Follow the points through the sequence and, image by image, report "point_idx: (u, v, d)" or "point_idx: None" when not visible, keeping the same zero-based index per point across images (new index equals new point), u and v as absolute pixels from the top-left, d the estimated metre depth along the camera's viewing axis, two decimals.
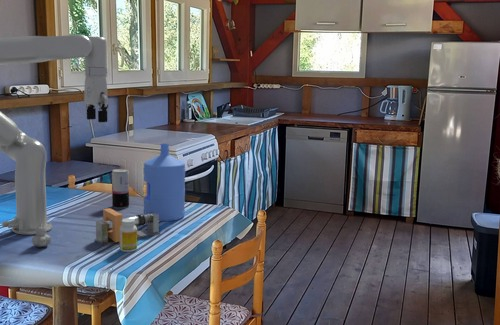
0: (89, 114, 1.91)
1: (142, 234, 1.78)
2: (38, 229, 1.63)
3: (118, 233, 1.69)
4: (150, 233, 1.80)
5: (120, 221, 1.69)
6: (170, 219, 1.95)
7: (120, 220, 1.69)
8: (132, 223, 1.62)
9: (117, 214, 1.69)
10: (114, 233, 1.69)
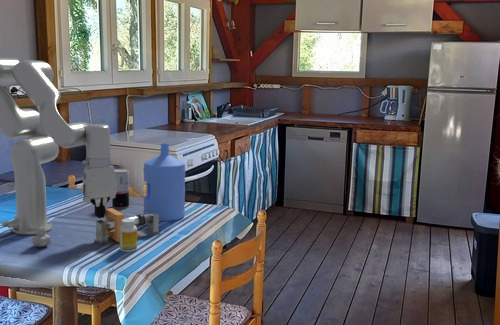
0: None
1: (142, 234, 1.78)
2: (38, 229, 1.63)
3: None
4: (150, 233, 1.80)
5: None
6: (170, 219, 1.95)
7: None
8: (132, 223, 1.62)
9: (119, 214, 1.69)
10: (116, 233, 1.69)
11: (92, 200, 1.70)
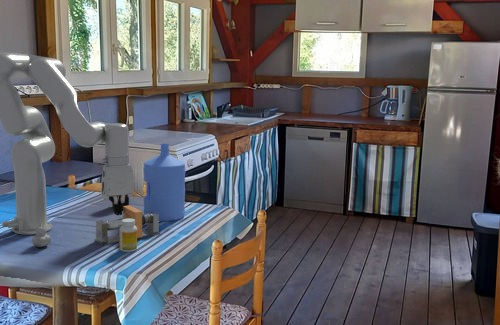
0: None
1: (142, 234, 1.78)
2: (38, 229, 1.63)
3: (138, 229, 1.73)
4: (150, 233, 1.80)
5: (140, 218, 1.73)
6: (170, 219, 1.95)
7: (140, 217, 1.73)
8: (132, 223, 1.62)
9: (137, 211, 1.73)
10: None
11: (111, 197, 1.74)
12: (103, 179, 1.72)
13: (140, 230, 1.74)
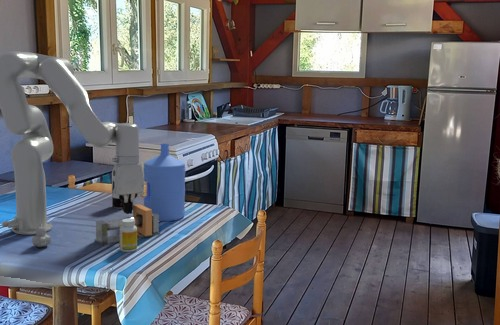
0: None
1: None
2: (38, 229, 1.63)
3: (148, 227, 1.76)
4: None
5: (150, 216, 1.75)
6: (170, 219, 1.95)
7: (150, 215, 1.75)
8: (132, 223, 1.62)
9: (147, 209, 1.76)
10: (144, 228, 1.76)
11: (121, 196, 1.76)
12: (114, 178, 1.74)
13: (150, 228, 1.76)
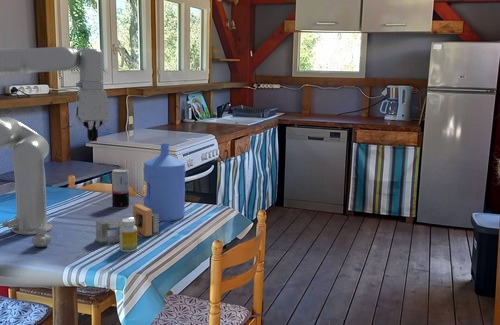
0: None
1: None
2: (38, 229, 1.63)
3: (148, 227, 1.76)
4: None
5: (150, 216, 1.75)
6: (170, 219, 1.95)
7: (150, 215, 1.75)
8: (132, 223, 1.62)
9: (147, 209, 1.76)
10: (144, 228, 1.76)
11: (85, 123, 1.75)
12: (77, 103, 1.73)
13: (150, 228, 1.76)
